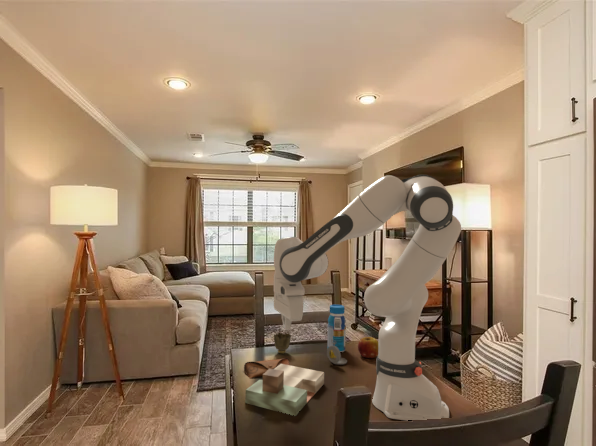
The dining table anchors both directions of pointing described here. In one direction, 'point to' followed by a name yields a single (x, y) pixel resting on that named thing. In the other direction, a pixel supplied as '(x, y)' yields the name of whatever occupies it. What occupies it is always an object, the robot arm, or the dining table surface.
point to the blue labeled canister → (337, 327)
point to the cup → (282, 342)
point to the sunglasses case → (262, 367)
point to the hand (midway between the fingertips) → (286, 329)
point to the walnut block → (273, 381)
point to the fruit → (368, 347)
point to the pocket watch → (335, 355)
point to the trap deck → (287, 390)
